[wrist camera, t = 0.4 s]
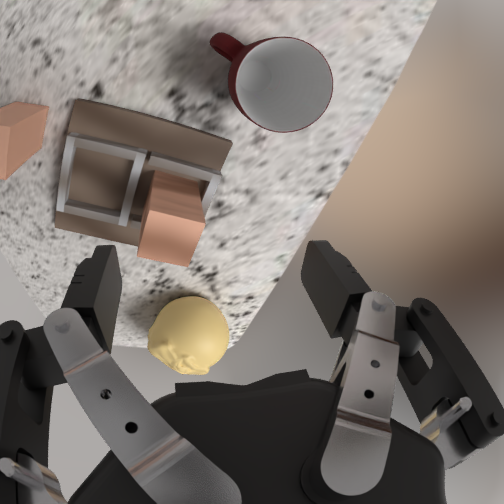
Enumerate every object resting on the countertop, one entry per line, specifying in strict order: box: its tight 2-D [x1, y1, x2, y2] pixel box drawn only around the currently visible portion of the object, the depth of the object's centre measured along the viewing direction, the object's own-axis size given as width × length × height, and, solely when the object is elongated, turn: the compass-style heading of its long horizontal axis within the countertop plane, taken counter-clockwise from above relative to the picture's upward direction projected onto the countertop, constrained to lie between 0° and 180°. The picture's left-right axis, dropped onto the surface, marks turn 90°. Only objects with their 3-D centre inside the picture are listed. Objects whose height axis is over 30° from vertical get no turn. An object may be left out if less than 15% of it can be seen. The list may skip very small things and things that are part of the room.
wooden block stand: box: [55, 99, 233, 267], centre depth 27 cm, size 16×18×10 cm
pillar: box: [0, 102, 49, 180], centre depth 19 cm, size 5×5×9 cm
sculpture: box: [147, 296, 229, 375], centre depth 42 cm, size 11×12×11 cm
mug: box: [210, 33, 333, 133], centre depth 22 cm, size 11×8×10 cm
